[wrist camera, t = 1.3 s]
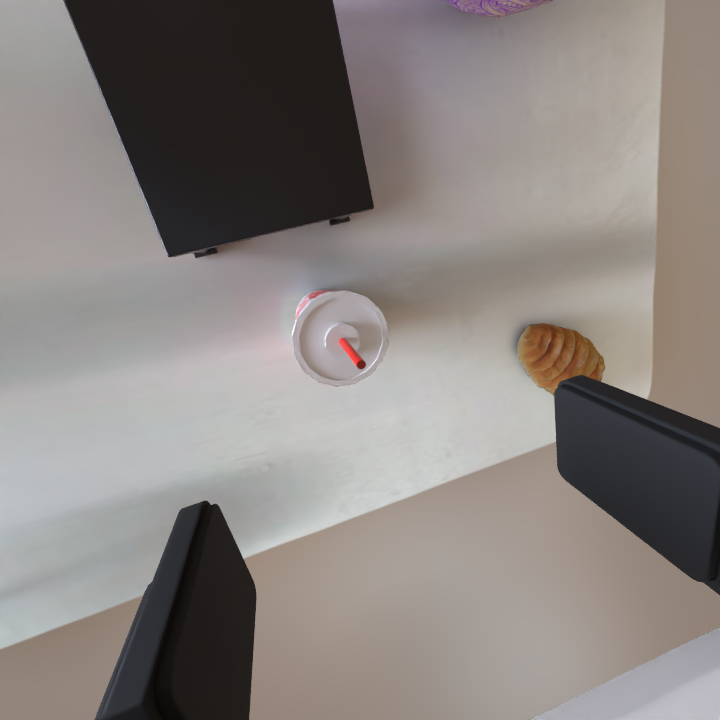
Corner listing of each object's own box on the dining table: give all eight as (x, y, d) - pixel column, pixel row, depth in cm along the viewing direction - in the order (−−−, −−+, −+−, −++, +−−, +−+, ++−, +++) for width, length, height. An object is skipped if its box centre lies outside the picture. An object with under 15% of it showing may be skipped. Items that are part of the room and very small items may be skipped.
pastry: (497, 361, 35) (522, 373, 32) (534, 304, 35) (565, 309, 31) (555, 398, 39) (584, 413, 35) (590, 347, 38) (624, 356, 34)
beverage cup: (328, 264, 29) (373, 273, 16) (370, 320, 31) (441, 369, 18) (271, 311, 29) (269, 359, 16) (318, 363, 31) (350, 444, 18)
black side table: (108, 26, 22) (21, -94, 14) (299, -1, 23) (311, -119, 16) (196, 257, 26) (166, 259, 19) (349, 221, 28) (376, 209, 21)
